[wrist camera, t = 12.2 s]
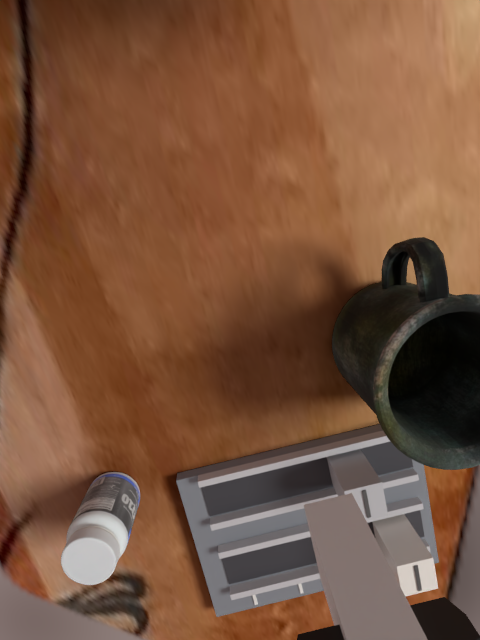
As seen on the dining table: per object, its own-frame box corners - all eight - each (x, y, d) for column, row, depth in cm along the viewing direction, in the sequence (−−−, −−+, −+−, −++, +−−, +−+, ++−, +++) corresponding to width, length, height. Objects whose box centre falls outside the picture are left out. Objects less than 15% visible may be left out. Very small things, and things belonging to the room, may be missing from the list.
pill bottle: (144, 513, 40) (125, 587, 32) (93, 518, 40) (60, 594, 31) (137, 467, 39) (116, 530, 31) (85, 472, 39) (49, 537, 30)
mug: (335, 409, 39) (387, 487, 27) (309, 250, 36) (354, 259, 24) (452, 384, 39) (554, 451, 27) (435, 223, 36) (543, 219, 24)
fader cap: (372, 520, 39) (397, 567, 34) (403, 513, 39) (433, 558, 34) (377, 548, 40) (402, 598, 35) (408, 540, 40) (438, 589, 35)
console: (177, 473, 39) (169, 522, 32) (410, 416, 39) (450, 454, 33) (216, 606, 42) (216, 676, 36) (432, 553, 42) (473, 613, 36)
